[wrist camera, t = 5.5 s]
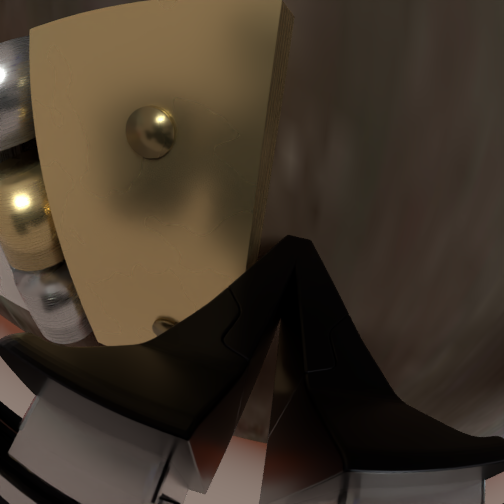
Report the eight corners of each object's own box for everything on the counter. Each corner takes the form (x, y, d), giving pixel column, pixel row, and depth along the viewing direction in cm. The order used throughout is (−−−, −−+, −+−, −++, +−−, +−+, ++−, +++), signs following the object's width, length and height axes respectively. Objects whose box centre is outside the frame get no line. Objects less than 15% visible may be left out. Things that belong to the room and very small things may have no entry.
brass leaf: (21, 42, 7) (-54, 65, 4) (294, 16, 6) (273, -10, 3) (66, 281, 15) (29, 328, 12) (245, 335, 14) (224, 405, 11)
